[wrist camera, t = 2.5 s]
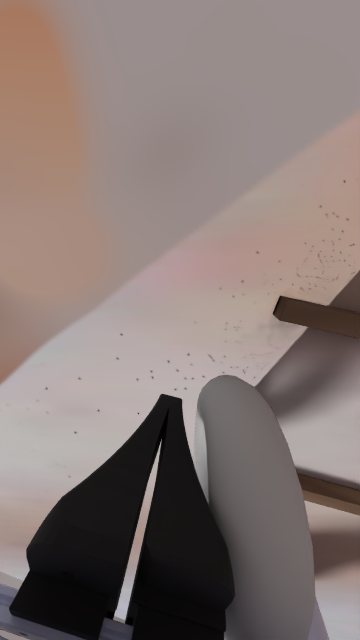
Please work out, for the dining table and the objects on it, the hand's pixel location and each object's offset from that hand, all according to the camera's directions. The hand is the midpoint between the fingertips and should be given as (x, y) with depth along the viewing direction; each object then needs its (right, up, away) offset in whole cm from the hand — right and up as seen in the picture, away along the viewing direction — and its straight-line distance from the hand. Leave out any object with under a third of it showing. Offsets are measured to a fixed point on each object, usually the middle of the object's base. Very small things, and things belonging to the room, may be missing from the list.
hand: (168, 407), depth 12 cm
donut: (+3, -1, +3) cm, 5 cm away
